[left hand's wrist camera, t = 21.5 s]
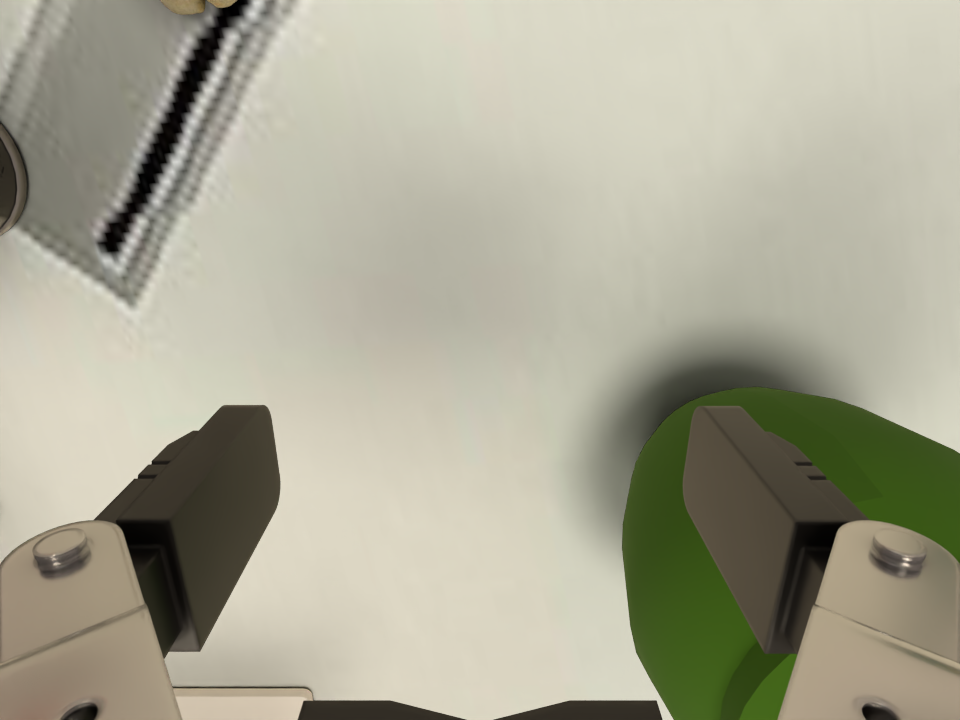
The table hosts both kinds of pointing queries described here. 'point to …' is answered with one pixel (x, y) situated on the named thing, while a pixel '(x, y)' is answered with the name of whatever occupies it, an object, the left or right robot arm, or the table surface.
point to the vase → (695, 576)
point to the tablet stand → (241, 703)
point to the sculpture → (193, 5)
